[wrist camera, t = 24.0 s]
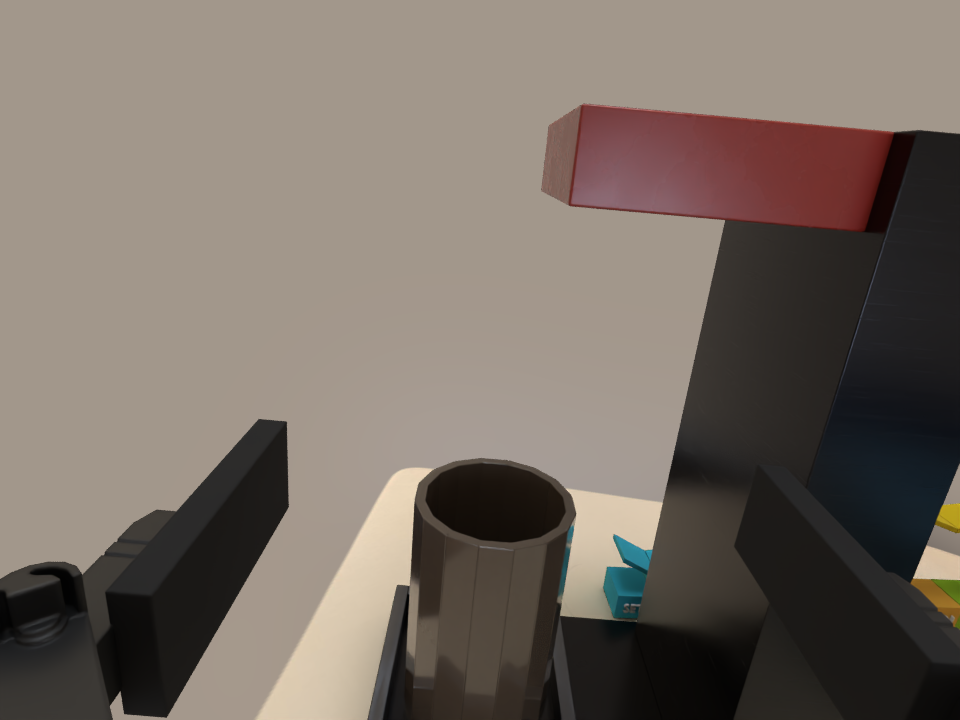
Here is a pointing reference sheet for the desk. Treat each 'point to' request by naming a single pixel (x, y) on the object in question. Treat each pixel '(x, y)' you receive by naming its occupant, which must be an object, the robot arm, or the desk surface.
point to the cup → (485, 590)
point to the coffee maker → (767, 392)
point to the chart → (628, 583)
